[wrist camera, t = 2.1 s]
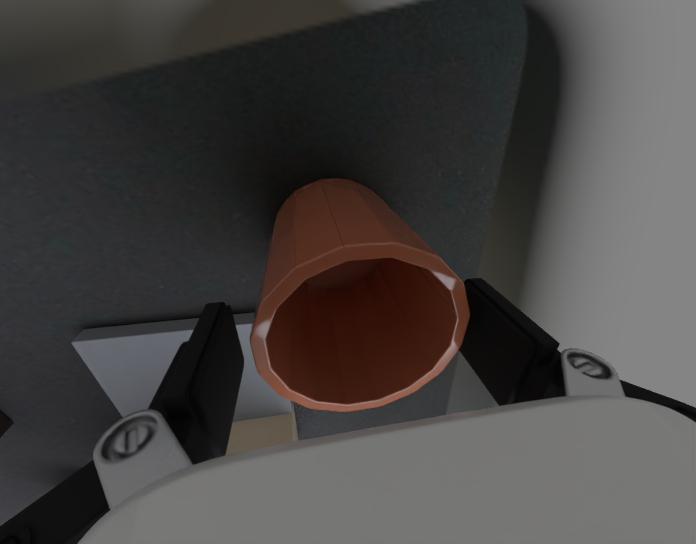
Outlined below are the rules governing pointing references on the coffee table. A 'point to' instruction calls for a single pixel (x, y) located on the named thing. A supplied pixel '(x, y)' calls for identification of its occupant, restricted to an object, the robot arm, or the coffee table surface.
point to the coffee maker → (153, 362)
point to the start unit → (4, 423)
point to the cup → (352, 302)
